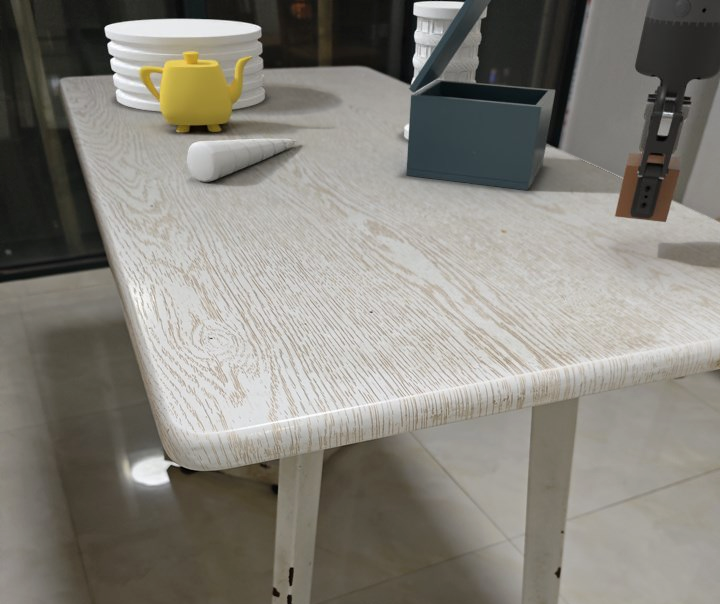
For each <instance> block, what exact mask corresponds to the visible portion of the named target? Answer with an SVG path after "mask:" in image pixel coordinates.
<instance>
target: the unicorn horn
mask: <svg viewBox="0 0 720 604" xmlns="http://www.w3.org/2000/svg"><path fill="white" fill-rule="evenodd" d="M297 142H298V140H297V139H293V138H292V139H291V138H249V139H247V138H246V139H245V138H244V139H224V140H223V139H222V140H218V139H217V140H199V141H195V142H193V143H191V145H190V146H189V148H188V149H187V150H188V151H187V154H186V163H187V164H186V165H187V167H188V170H189V172H190V174H191V175H192V176H193V178H195V179H197V180H198V181H200V182H203V183H209V182H214V181H215V180H218V179H220V178H222V177H225V176H228V175H231V174H232V173H235V172H237V171H239V170H242V169H244V168H247V167H249V166H252V165H255V164H256V163H259V162H261V161H263V160H266V159H268V158H271V157H273V156H275V155H277V154H279V153H281V152H283V151H285V150H287V149H290V148H291V147H292V146H294V145H296V143H297Z"/></svg>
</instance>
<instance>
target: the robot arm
mask: <svg viewBox="0 0 720 604" xmlns="http://www.w3.org/2000/svg"><path fill="white" fill-rule="evenodd" d="M644 17H645V18H644V22H643V27H642V31H641V35H640V40H639V45H638V50H637V54H636V59H635V63H634V68H635V71H636V72H637V73H638V74H640V75H643V76H646V77H650V78H658V80H659V81H660V82H659V85H658V86H657V88H656V89H655V90H654V93H653V92H649V93H648V95H647V99H646V102H645V103H646V104H645V107H644V112H643V119H644V123H643V126H642V131H641V136H640V142H639V146H638V149H639V151H640V154H643V156H642V160H641V165H640V166H639V168H638V171H637V174H638V182H637V186H636V190H635V194H634V198H633V203H632V207H631V211H630V214H631V216H632V217H638V218H646V219H648V218H651V217H652V216H653V214H654V210H655V206H656V202H657V198H658V194H659V191H660V187H661V183H662V180H664V178H665V177H666V175H667V174H668V171H669V168H668V166H669V162H670V159H671V157H672V155H674V154H675V153H676V151H677V150H678V147H679V143H680V139H681V136H682V131H683V127H684V124H685V122H686V121H687V119H688V118H689V115H690V110H691V107H692V102H693V100H692V95H686V90H687V86H688V84H689V83H690V82H691V81H693V80H698V81H702V80H709V79H713V78H715V77H717V76H718V75H719V74H720V0H648V4H647V8H646V12H645V16H644ZM649 155H657V156H664V158H663V162H662V163H651V162H647V160H648V156H649Z"/></svg>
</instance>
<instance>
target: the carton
mask: <svg viewBox="0 0 720 604" xmlns="http://www.w3.org/2000/svg"><path fill="white" fill-rule="evenodd" d="M642 156H643V154H641V153H633V152H629V153H628V156H627V162H626V165H625V169H624V173H623V179H622V182H621V187H620V191H619V197H618V200H617V204H616V208H615V214H614V217H616V218H623V219H624V218H625V219H632V220H633V219H636V220H643V221H651V222H659V223H660V222H662V223H666V222H667V220H668V216H669V212H670V208H671V205H672V202H673V198H674V194H675V191H676V187H677V184H678V180H679V177H680V176H679V175H680V172H681V157H677V156H671V159H670V162H669V166H668V168H669V171H668V174H667V175H666V177H665V178H664V180H662V183H661V187H660V191H659V194H658V198H657V202H656V206H655V210H654V214H653V216H652V217H651V218H648V219H646V218H638V217H632V216H631V214H630V211H631V207H632V203H633V198H634V194H635V190H636V186H637V182H638V174H637V171H638V168H639V166H640V165H641V160H642ZM663 158H664V156H657V155H649V156H648V160H647V162H651V163H662V162H663Z"/></svg>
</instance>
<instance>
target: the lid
mask: <svg viewBox="0 0 720 604" xmlns="http://www.w3.org/2000/svg"><path fill="white" fill-rule="evenodd" d="M491 1H492V0H465V1H463V2H464V4H463V6H462V7H461V9H460V10H459V12H458V13H457V15H456V16H455V18H454V20H453V21H452V23H451V24H450V26H449V27H448V29H447V30H446V32H445V34H444V35H443V37H442V38H441V40H440V41H439V43H438V44H437V46H436V47H435V49H434V51H433V52H432V54H431V55H430V57H429V58H428V60H427V61H426V63H425V65H424V66H423V68H422V69H421V71H420V72H419V74H418V75H417V77H416V79H415V80H414V82H413V83H412V82H411V83H412V85H411V84H410V87H409V88H408V89H409V91H410V92H412V94H413V93H414V92H416V91H418V90H419V89H421V88H423V87H424V86H426V85H428V84H429V83H431V82H433V81H434V80H436V79H438V78H439V77H440V76H441V74H442V73H443V71H444V70H445V68H446V67H447V65H448V64H449V62H450V61H451V59H452V58H453V56H454V55H455V53H456V52H457V50H458V49H459V47H460V46H461V44H462V43H463V41H464V40H465V38H466V37H467V35H468V34H469V32H470V31H471V29H472V28H473V26H474V25H475V23H476V22H477V20H478V19H479V17H480V16H481V14H482V13H483V11H484V10H485V8H486V7H487V8H488V5H489V4H490V2H491Z"/></svg>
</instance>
